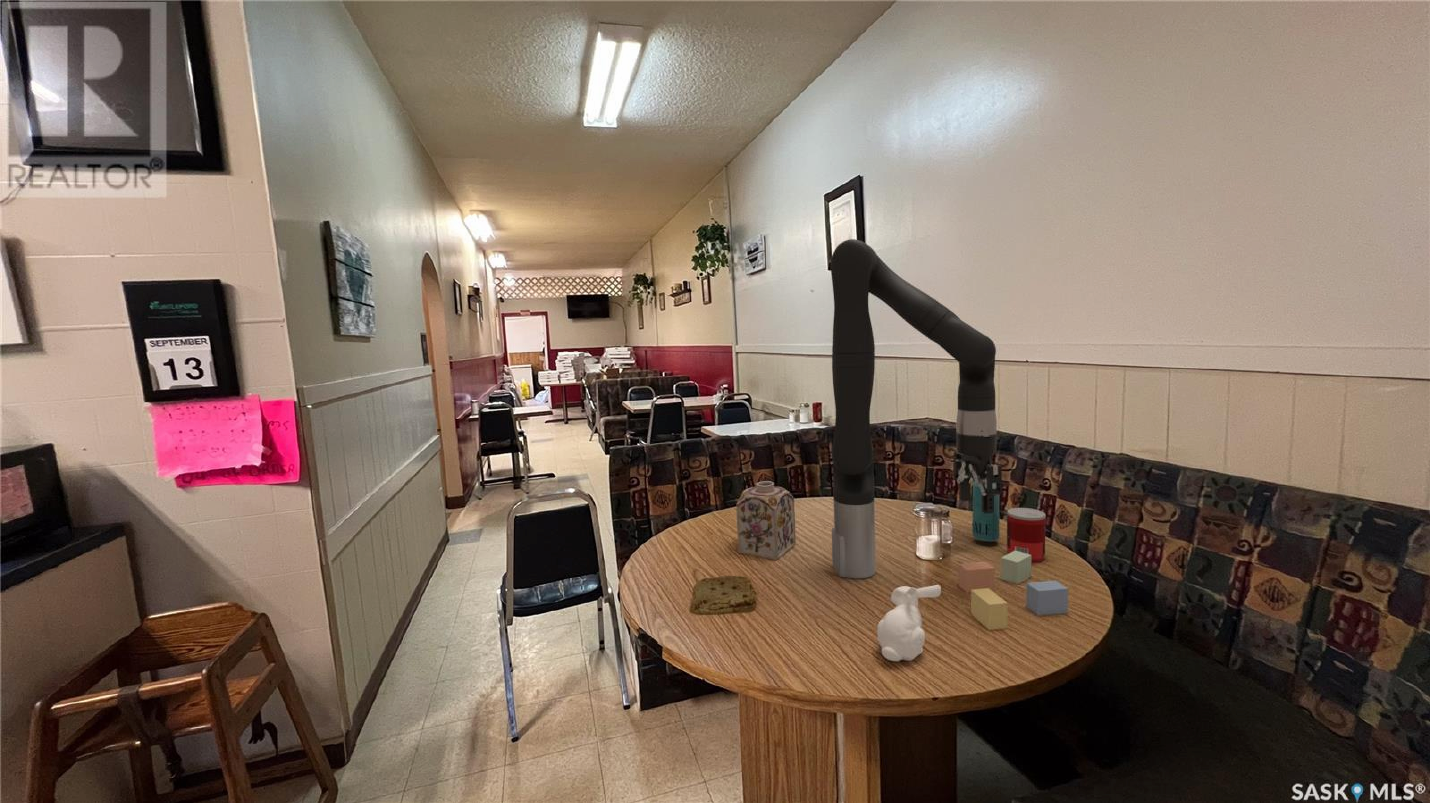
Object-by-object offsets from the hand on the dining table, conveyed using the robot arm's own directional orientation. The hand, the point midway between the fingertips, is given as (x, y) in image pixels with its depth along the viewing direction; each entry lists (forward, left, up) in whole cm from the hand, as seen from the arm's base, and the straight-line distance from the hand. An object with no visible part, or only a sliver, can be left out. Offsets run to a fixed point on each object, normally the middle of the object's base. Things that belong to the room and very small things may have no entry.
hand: (976, 506), depth 113 cm
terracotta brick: (0, 0, -18) cm, 18 cm away
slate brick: (+8, -11, -18) cm, 23 cm away
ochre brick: (-5, -13, -18) cm, 23 cm away
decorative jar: (-40, +30, -18) cm, 53 cm away
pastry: (-54, +5, -19) cm, 57 cm away
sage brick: (+11, +3, -18) cm, 21 cm away
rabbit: (-24, -19, -18) cm, 36 cm away
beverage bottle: (+16, +23, -18) cm, 33 cm away
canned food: (+20, +13, -18) cm, 30 cm away
